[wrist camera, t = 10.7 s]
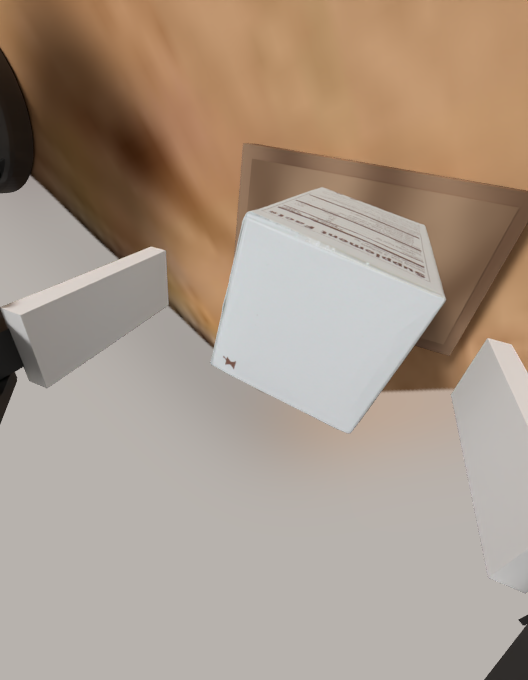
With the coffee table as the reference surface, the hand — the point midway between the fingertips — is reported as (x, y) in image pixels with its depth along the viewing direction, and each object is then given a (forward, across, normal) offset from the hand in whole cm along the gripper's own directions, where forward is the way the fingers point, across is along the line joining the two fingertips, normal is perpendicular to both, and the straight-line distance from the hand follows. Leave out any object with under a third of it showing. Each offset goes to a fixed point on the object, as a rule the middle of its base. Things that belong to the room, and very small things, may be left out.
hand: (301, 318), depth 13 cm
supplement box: (+12, +1, 0) cm, 12 cm away
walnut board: (+14, +1, 0) cm, 14 cm away
